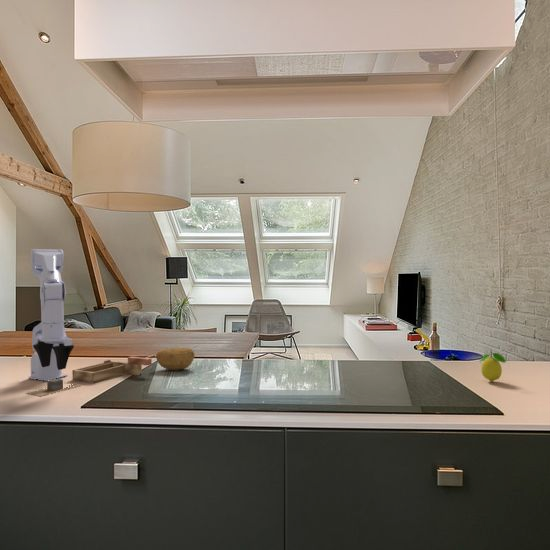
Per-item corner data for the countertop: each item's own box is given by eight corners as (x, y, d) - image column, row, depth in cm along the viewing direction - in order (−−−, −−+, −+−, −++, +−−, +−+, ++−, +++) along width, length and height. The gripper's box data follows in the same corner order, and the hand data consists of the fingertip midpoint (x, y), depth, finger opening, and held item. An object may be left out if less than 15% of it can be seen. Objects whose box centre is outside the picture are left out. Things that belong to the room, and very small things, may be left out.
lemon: (506, 385, 122) (506, 351, 122) (485, 384, 124) (484, 351, 124) (499, 379, 129) (498, 347, 129) (478, 378, 130) (478, 347, 130)
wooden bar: (127, 363, 142) (127, 357, 142) (131, 362, 144) (131, 356, 144) (147, 365, 138) (147, 359, 138) (151, 364, 140) (151, 358, 140)
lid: (25, 395, 120) (25, 384, 120) (67, 384, 132) (67, 374, 132) (41, 399, 116) (41, 387, 116) (82, 387, 128) (82, 376, 128)
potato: (163, 366, 154) (162, 345, 154) (198, 367, 152) (198, 345, 152) (150, 372, 144) (150, 349, 144) (188, 373, 142) (188, 350, 142)
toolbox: (72, 379, 135) (72, 368, 135) (111, 369, 149) (111, 359, 149) (106, 384, 128) (106, 372, 128) (143, 373, 143) (143, 362, 143)
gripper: (80, 322, 124) (81, 367, 124) (50, 320, 131) (50, 362, 131) (59, 325, 118) (59, 372, 118) (28, 322, 124) (28, 367, 124)
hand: (53, 367), depth 124 cm, fingers open, 7 cm apart
